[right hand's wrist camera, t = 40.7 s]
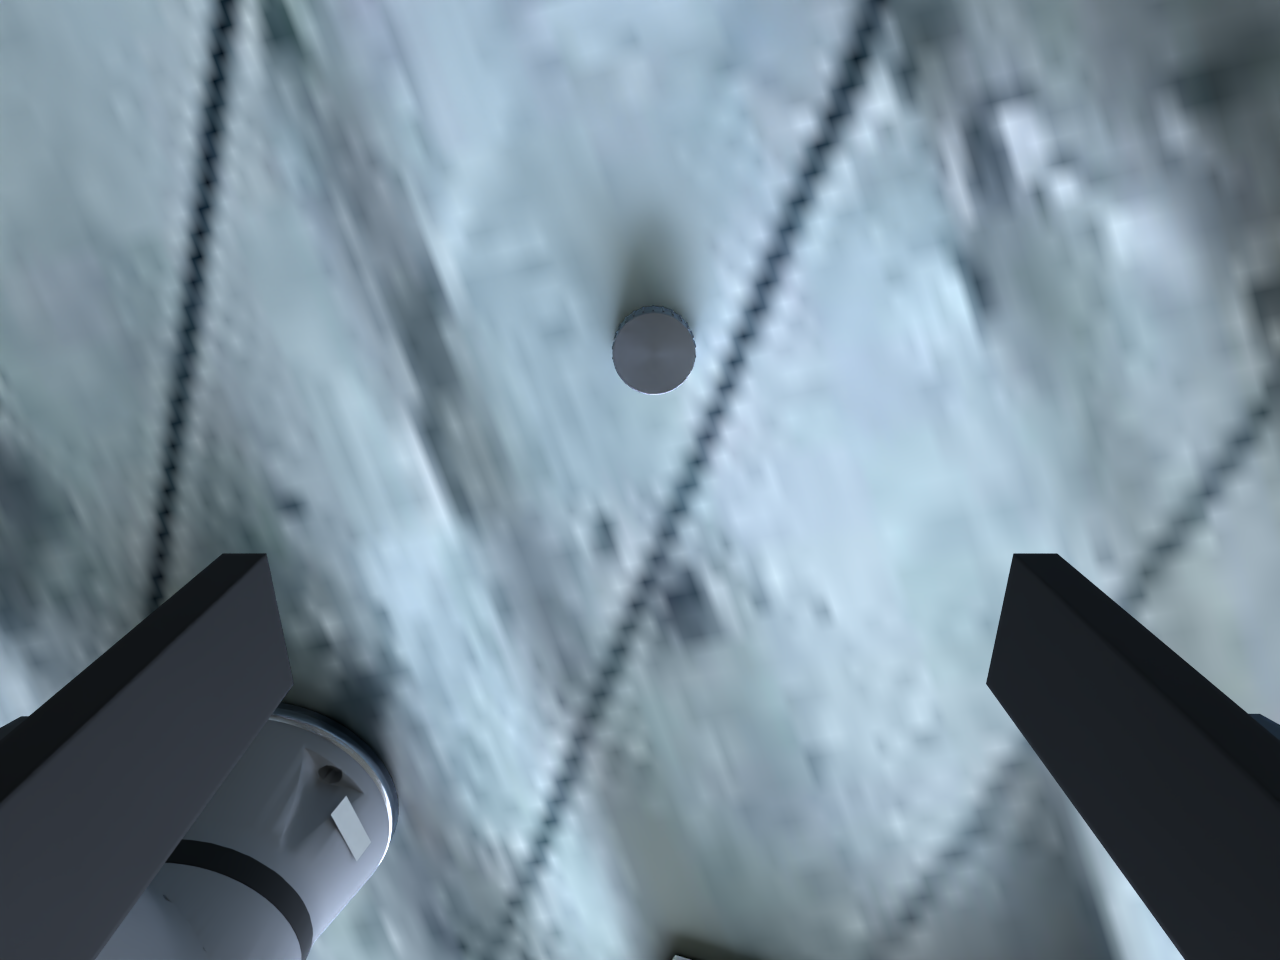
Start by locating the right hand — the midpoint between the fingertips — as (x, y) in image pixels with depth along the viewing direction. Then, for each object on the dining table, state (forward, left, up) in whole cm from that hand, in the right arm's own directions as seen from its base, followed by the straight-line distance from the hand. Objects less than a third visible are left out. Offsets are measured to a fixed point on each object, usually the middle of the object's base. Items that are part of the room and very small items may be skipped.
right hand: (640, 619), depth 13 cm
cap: (0, 0, -23) cm, 23 cm away
